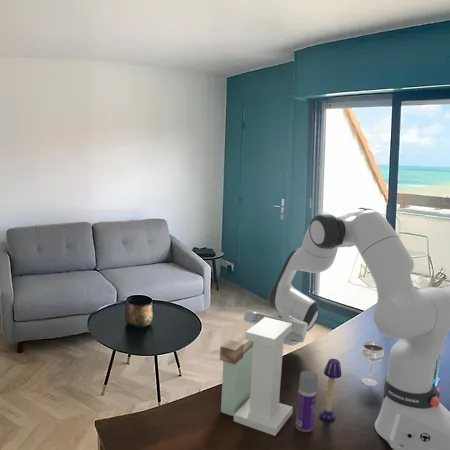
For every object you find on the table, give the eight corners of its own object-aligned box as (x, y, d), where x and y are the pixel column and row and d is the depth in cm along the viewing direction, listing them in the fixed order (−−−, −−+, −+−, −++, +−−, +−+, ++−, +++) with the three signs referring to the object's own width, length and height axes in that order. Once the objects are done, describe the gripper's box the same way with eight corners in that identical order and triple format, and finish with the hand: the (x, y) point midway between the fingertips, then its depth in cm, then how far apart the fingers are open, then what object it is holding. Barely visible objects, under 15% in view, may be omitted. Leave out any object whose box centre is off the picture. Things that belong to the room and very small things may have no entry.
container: (313, 433, 135) (317, 380, 132) (294, 430, 136) (299, 377, 133) (313, 423, 139) (318, 371, 136) (296, 420, 140) (300, 369, 137)
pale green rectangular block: (252, 396, 151) (256, 345, 148) (233, 416, 141) (236, 361, 137) (240, 392, 153) (243, 342, 149) (220, 411, 142) (223, 358, 139)
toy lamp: (324, 410, 146) (329, 355, 142) (339, 416, 143) (345, 360, 140) (316, 417, 142) (321, 361, 138) (332, 423, 139) (338, 366, 136)
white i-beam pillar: (292, 413, 143) (299, 325, 138) (275, 435, 133) (282, 341, 127) (253, 400, 149) (258, 315, 143) (233, 421, 138) (238, 329, 133)
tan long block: (264, 339, 152) (265, 326, 151) (234, 364, 136) (235, 350, 135) (250, 335, 154) (251, 322, 153) (219, 360, 138) (220, 346, 137)
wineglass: (353, 380, 163) (357, 345, 160) (365, 374, 167) (369, 339, 165) (372, 389, 158) (377, 353, 156) (384, 382, 162) (389, 347, 160)
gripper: (254, 310, 176) (239, 301, 164) (312, 324, 166) (301, 315, 154) (249, 328, 174) (234, 321, 162) (307, 343, 165) (296, 336, 153)
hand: (267, 318), depth 158 cm, fingers open, 8 cm apart
